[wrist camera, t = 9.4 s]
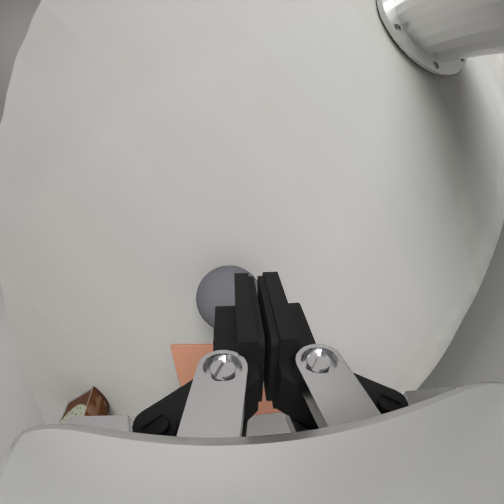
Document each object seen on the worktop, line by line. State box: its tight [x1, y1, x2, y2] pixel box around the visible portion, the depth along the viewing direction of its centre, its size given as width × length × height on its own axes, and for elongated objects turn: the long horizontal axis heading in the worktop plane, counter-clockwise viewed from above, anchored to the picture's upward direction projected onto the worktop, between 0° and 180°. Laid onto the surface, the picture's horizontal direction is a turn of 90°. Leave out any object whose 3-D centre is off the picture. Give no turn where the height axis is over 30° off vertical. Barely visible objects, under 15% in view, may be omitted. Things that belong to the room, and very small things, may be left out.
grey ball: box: [196, 266, 257, 327], centre depth 23 cm, size 6×6×6 cm
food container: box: [59, 386, 109, 424], centre depth 27 cm, size 12×6×10 cm, turn 126°
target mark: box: [171, 344, 281, 415], centre depth 31 cm, size 14×14×1 cm
